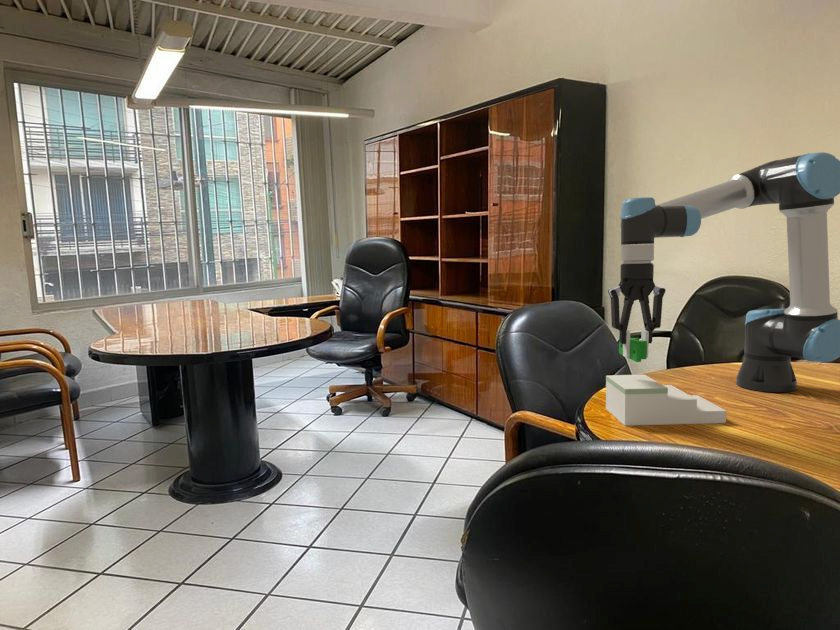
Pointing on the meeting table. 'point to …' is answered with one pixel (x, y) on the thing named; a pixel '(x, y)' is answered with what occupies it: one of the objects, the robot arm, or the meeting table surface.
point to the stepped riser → (656, 403)
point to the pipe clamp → (636, 349)
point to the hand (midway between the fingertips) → (635, 356)
